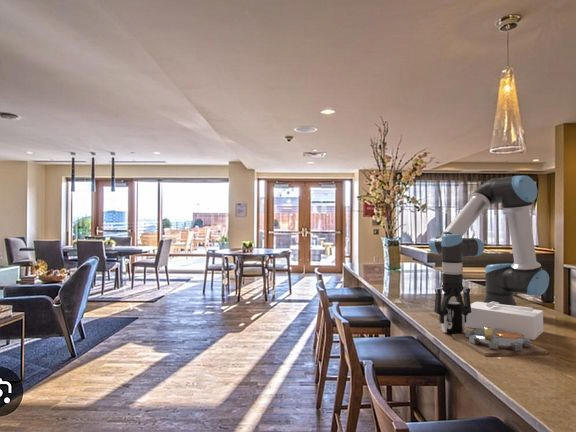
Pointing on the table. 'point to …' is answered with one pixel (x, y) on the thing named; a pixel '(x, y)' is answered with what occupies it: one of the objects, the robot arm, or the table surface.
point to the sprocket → (497, 338)
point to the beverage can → (454, 317)
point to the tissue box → (506, 318)
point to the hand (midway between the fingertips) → (453, 331)
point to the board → (500, 352)
